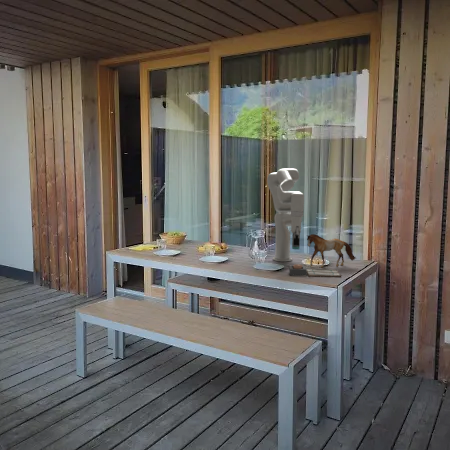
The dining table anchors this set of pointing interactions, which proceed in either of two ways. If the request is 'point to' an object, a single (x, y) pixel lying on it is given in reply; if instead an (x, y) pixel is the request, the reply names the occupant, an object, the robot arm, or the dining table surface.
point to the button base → (297, 271)
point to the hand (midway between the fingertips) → (295, 243)
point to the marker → (293, 242)
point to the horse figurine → (329, 247)
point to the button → (297, 266)
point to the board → (322, 273)
